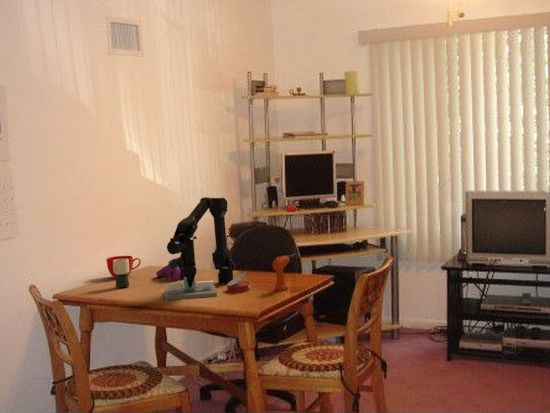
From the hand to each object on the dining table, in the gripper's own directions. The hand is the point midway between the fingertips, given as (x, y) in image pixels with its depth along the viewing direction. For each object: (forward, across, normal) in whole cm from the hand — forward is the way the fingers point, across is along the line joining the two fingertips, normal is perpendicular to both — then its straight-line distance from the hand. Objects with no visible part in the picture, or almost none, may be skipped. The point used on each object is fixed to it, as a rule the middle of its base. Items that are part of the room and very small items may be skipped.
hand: (189, 286), depth 312 cm
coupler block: (+1, 0, 0) cm, 1 cm away
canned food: (+4, -1, +21) cm, 21 cm away
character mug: (+4, -28, -31) cm, 42 cm away
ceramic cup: (+4, -56, -32) cm, 65 cm away
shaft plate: (+4, 0, 0) cm, 4 cm away
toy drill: (+4, +1, +42) cm, 42 cm away
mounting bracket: (+4, -43, -8) cm, 44 cm away
